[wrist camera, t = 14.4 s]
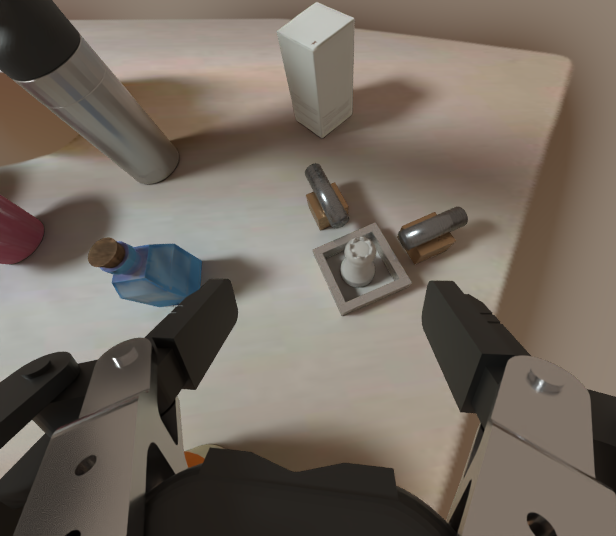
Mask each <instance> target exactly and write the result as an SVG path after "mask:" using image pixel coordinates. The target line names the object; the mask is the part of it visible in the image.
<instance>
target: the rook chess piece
mask: <svg viewBox="0 0 616 536" xmlns="http://www.w3.org/2000/svg"><path fill="white" fill-rule="evenodd" d="M344 252H345V256H346V257H345V259H344V260H343V262H342V264H341V269H340V273H341V277H342V278H343V280H344V281H345V282H346V283H347V284H349V285H350V286H354V287H362V286H365V285H367V284H368V283H370V282H371V281H372V279H373V277H374V274H375V265H374V262H373V260H374V258H375V256H376V247H375V245H374V244H373V242H372V241H371V240H370V239H367V238H365V237H363V236H360V237H357V238H356V237H355V238H353V239H352V240H350V241H349V242H348V243H347V245H346V246H345V251H344Z"/></svg>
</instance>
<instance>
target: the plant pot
mask: <svg viewBox="0 0 616 536" xmlns="http://www.w3.org/2000/svg"><path fill="white" fill-rule="evenodd" d="M43 235H44V226H43V224H42V222H41V221H40V220H38V219H37V218H35V217H34V216H32V215H31V214H29V213H28V212H26V211H25V210H23V209H22V208H20V207H19V206H17V205H16V204H14V203H13V202H11V201H9V200H8V199H6V198H5V197H3V196H2V195H0V263H1V264H14V263H17V262H20V261H22V260H24V259H25V258H27V257H28V256H29V255H31V254H32V253H33V252H34V251H35V250H36V248H37V247H38V246H39V244H40V242H41V240H42V238H43Z"/></svg>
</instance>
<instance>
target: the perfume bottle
mask: <svg viewBox="0 0 616 536" xmlns="http://www.w3.org/2000/svg"><path fill="white" fill-rule="evenodd" d="M88 261H89V263H90V264H91V265H92V266H94V267H100V268H101V269H102V270H103V271H105V272H108V273H111V274H113V278H112V284H113V286H114V287H115V289H116V291H117V293H118V294H119V296H120V298H122V299H126V300H131V301H135V302H139V303H144V304H148V305H152V306H157V307H163V306H171V305H178V304H180V303H181V302H182V301H183V300H184V299H185V298H186V297H187V296H189V295H191V294H192V293H194V292H196V291H197V290H199V289H200V284H201V268H202V261H201V260H200V259H198V258H196V257H195V256H193V255H191V254H190V253H188V252H187V251H185V250H183V249H182V248H180V247H179V246H177V245H175V244H153V245H144V246H138V247H132V246H130V245H128V244H126V243H124V242H121V241H115V240H114V239H112V238H103V239H100V240H99V241H97V242H96V243H95V244H94V245H93V246H92V247H91V249H90V251H89V253H88Z"/></svg>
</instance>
